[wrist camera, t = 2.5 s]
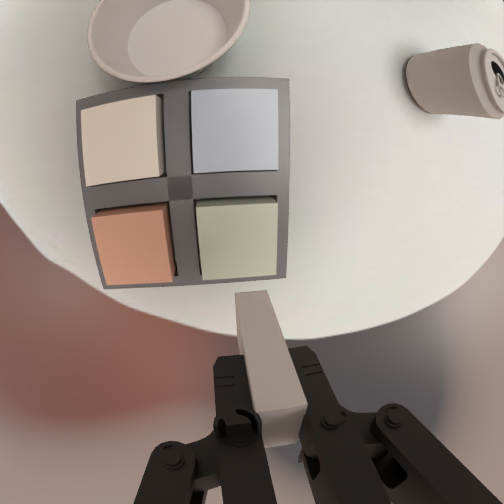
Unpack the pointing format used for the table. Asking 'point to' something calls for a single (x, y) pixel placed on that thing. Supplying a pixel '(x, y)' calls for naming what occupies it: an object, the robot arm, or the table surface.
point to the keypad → (191, 175)
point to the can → (458, 81)
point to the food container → (163, 36)
